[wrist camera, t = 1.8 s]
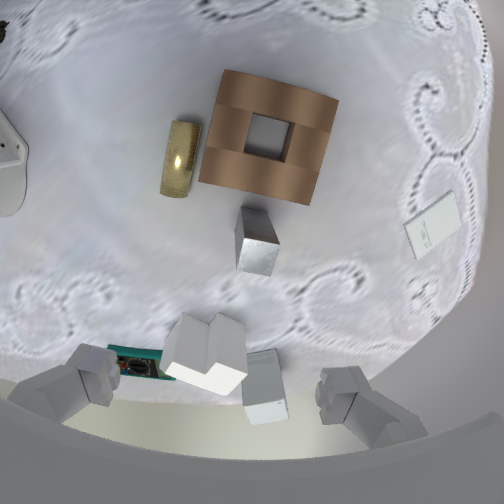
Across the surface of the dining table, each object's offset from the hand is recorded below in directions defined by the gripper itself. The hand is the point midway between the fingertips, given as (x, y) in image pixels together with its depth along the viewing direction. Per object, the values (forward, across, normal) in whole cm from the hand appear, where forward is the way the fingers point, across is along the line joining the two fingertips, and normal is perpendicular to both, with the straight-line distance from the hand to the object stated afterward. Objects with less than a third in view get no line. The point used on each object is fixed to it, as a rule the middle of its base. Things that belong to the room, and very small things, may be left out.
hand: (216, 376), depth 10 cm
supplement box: (+38, -7, +30) cm, 49 cm away
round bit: (+32, +9, -8) cm, 34 cm away
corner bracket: (+36, +4, +22) cm, 43 cm away
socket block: (+32, -3, -12) cm, 34 cm away
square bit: (+34, -2, +1) cm, 34 cm away
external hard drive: (+36, -36, -2) cm, 51 cm away
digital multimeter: (+37, +17, +32) cm, 52 cm away
